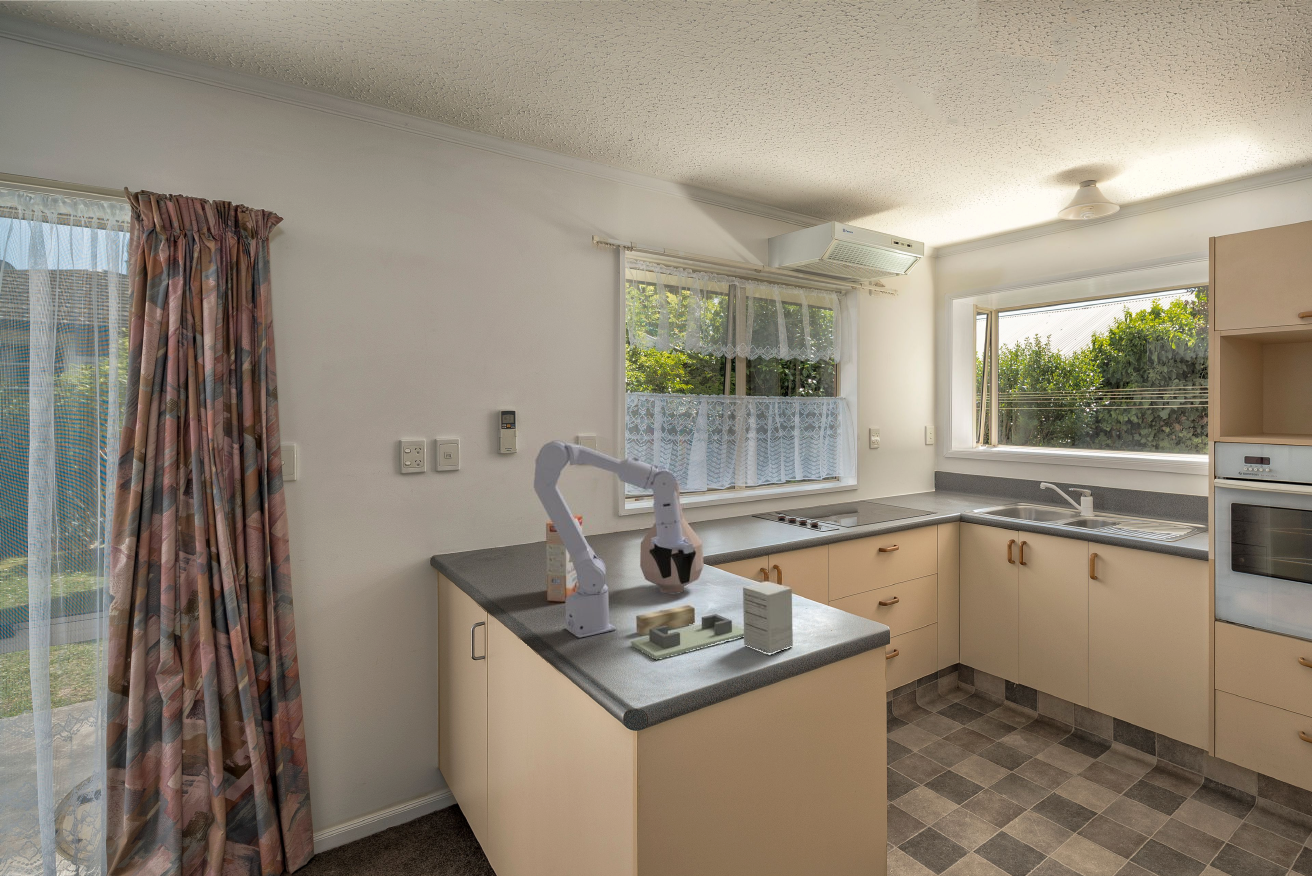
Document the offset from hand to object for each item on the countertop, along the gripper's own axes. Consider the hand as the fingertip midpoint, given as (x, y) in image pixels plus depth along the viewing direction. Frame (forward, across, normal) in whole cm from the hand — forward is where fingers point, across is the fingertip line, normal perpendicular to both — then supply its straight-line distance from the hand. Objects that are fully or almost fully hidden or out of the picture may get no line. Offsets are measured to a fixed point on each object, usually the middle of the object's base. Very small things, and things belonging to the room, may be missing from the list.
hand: (675, 579), depth 145 cm
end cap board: (+11, -9, +4) cm, 15 cm away
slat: (+11, +1, +4) cm, 11 cm away
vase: (+11, +26, -14) cm, 31 cm away
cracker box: (+8, +39, +11) cm, 41 cm away
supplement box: (+13, -21, -7) cm, 26 cm away
